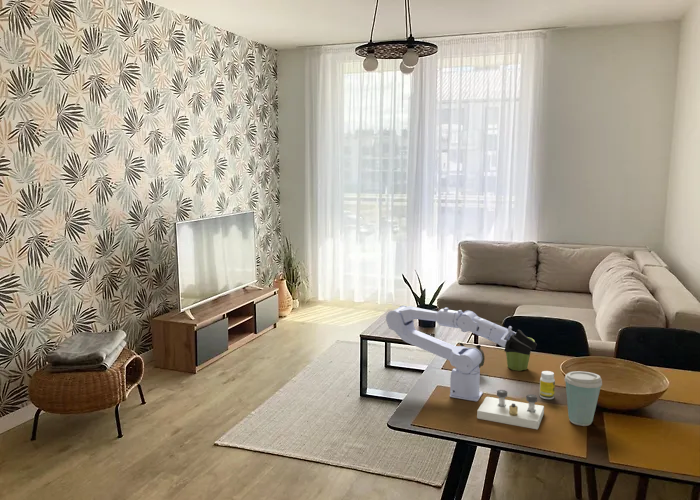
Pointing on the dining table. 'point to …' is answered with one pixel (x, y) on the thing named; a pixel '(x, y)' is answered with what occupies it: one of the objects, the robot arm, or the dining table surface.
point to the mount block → (501, 414)
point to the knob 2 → (531, 401)
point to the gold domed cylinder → (513, 410)
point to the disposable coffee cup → (582, 396)
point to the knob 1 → (502, 397)
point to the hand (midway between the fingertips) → (533, 349)
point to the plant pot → (517, 360)
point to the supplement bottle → (547, 385)
